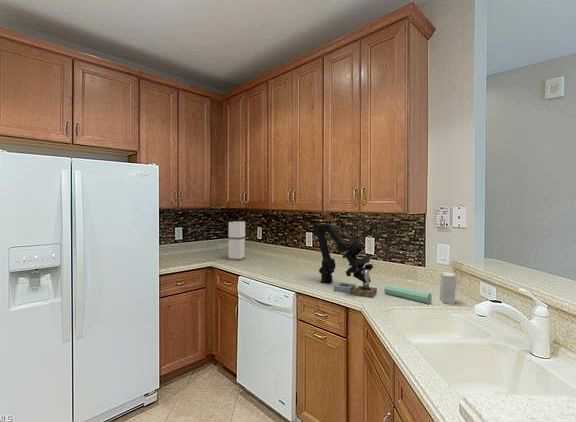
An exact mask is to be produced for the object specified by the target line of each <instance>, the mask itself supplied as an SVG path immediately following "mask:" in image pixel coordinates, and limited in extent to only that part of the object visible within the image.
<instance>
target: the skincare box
mask: <svg viewBox="0 0 576 422" xmlns="http://www.w3.org/2000/svg"><path fill="white" fill-rule="evenodd" d="M456 282H457V276H456V275H455V274H454V273H453V272H447V271H440V284H439V285H440V286H439V287H440V288H439V289H440V290H439V299H440V301H441V302H442V304H448V305H455V303H456V287H457V286H456V285H457V283H456Z"/></svg>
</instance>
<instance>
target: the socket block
mask: <svg viewBox="0 0 576 422" xmlns="http://www.w3.org/2000/svg"><path fill="white" fill-rule="evenodd" d="M355 289H356V283H355V284H354V283H349V282H348V283H346V282H341V281H340V282H338V283H336V284H335V285H334V286H333V292H337V293H343V294H350V295H351V294H352V293H353V292H355Z"/></svg>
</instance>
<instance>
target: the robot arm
mask: <svg viewBox="0 0 576 422" xmlns="http://www.w3.org/2000/svg"><path fill="white" fill-rule="evenodd" d="M312 231H313V233H314V235H315V236H316V237H317V240H318V244H319V248H320V253H321V256H322V259H321V260H322V261H321V267H320V268H319V269H318V272H319V274H321V276H320V278H321V279H320V280H321V281H320V283H321V284H327V285H329V284H331V283H333V280H334V279H333V278H334V277H333V273H335V269H336V262H335V258H332V257H331V255H330V250H329V247H328V243H327V237H326V234H328V235H329V237H331V238H332V240H333V241H334V242H335V244H336V248H337V250H338V251H339V252H340V253H343V254H342V259H346V260H347V262H348V266H349V268H348V269H347V270H346V271H345V276H346V277H347V278H348V277H351V276H352V278H356V279H357V280H359V281H361V282H362V283H363V282H364V283H366V280H365V278H364V277H363V269H368V270H369V272H370V271H371V270H373V269H374V265H373V264H372V263H370V261H371V258H370V257H369V255H365V256H363V257H361V258H360V257H359V258H358V256H359V255H360V254H361V253H362V251H363V250H364V249H365V246H364V244H363V243H361V242H360V241H358V240H354V241H353V243H352V244H351V243H350V242H349V240H346V239H344V238H343V237H342V236H341V234H339V232H338V231H337V230H336V229H335V227H334V226H333V225H332V224H331V223H326V224H325V223H315V224H314V225H313V226H312ZM371 282H372V281H371V278H370V276H369V283H371Z"/></svg>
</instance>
